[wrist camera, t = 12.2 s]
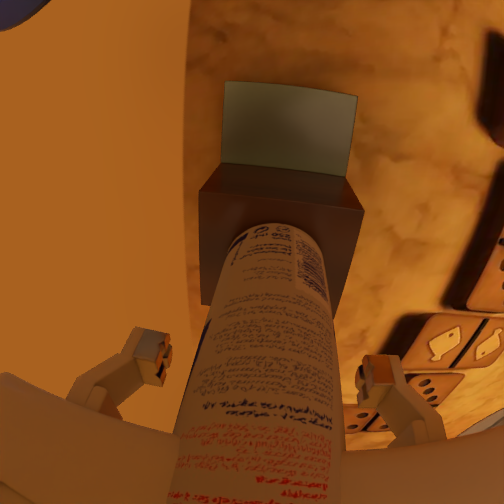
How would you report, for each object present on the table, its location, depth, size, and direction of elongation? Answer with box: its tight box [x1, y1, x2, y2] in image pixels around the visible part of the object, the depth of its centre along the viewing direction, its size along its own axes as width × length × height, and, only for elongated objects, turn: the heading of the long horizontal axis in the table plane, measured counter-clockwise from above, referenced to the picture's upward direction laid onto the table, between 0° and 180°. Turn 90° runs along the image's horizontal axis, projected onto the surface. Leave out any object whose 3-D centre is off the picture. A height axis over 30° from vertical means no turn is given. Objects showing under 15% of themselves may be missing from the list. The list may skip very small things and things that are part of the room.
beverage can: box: [166, 223, 346, 504], centre depth 11 cm, size 6×6×15 cm
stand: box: [199, 81, 365, 319], centre depth 21 cm, size 14×9×11 cm, turn 176°
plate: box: [457, 408, 504, 437], centre depth 53 cm, size 28×28×1 cm
